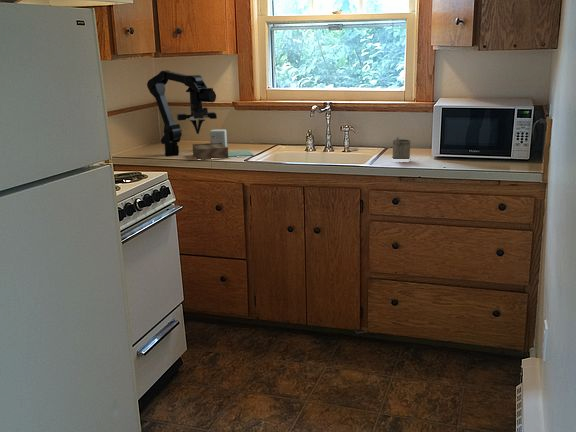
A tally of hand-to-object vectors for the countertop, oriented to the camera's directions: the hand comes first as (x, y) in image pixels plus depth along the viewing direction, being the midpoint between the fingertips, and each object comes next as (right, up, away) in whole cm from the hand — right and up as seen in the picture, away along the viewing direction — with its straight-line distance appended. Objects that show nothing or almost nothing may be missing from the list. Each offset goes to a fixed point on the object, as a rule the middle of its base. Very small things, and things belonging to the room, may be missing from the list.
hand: (197, 133), depth 309 cm
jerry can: (+97, -15, -13) cm, 99 cm away
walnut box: (+6, -11, +6) cm, 13 cm away
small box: (+8, -5, +26) cm, 27 cm away
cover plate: (+19, -10, +10) cm, 24 cm away
